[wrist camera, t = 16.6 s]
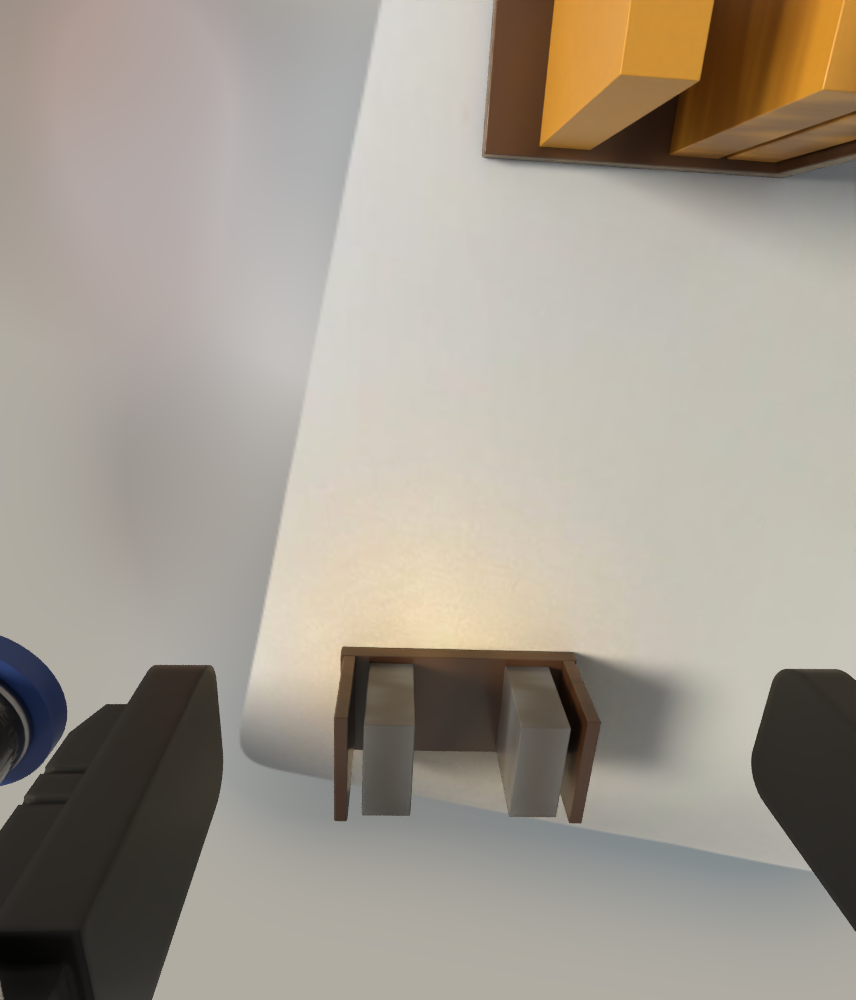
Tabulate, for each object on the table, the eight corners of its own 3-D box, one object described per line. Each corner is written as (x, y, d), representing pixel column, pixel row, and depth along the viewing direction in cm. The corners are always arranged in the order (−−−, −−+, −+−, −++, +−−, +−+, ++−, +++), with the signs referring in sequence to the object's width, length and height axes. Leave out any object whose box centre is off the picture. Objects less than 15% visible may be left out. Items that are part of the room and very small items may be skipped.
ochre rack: (481, 157, 31) (531, 86, 19) (496, -37, 28) (566, -267, 16) (782, 178, 32) (1014, 123, 20) (826, -9, 29) (1127, -205, 17)
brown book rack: (341, 739, 44) (330, 821, 38) (341, 646, 41) (330, 717, 35) (558, 743, 45) (584, 823, 38) (573, 651, 42) (604, 722, 36)
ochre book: (539, 146, 30) (619, 74, 19) (557, -28, 28) (662, -230, 16) (590, 150, 30) (700, 81, 19) (613, -24, 28) (754, -221, 17)
